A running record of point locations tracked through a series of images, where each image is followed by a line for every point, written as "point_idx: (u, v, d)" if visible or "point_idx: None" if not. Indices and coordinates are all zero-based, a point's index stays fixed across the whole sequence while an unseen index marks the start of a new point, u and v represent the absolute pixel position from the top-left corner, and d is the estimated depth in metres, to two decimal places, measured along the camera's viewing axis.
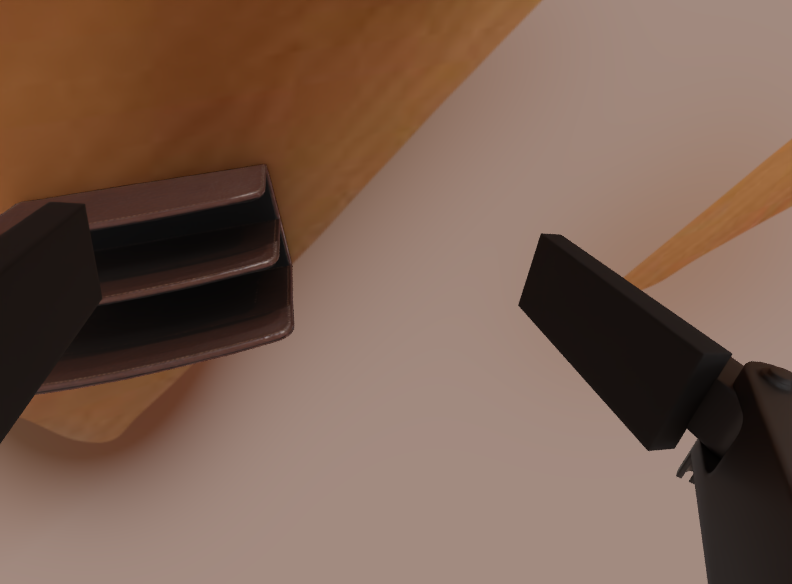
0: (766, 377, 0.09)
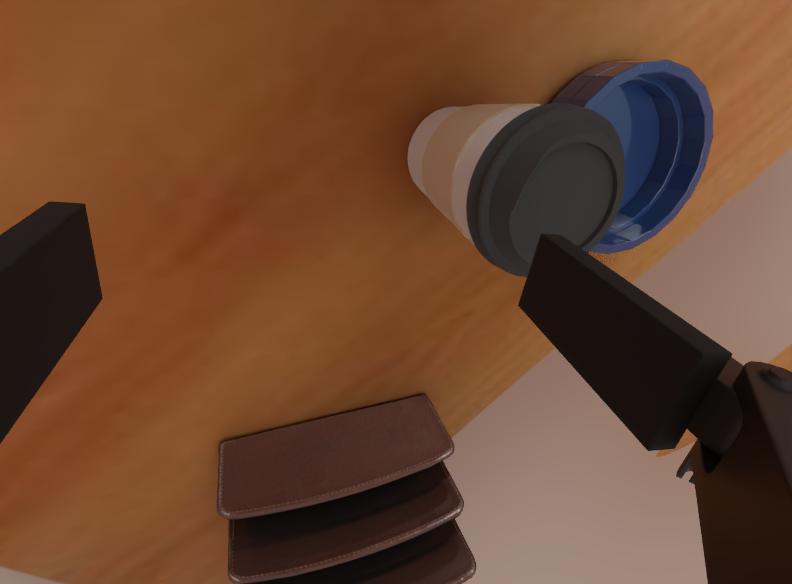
0: (766, 377, 0.09)
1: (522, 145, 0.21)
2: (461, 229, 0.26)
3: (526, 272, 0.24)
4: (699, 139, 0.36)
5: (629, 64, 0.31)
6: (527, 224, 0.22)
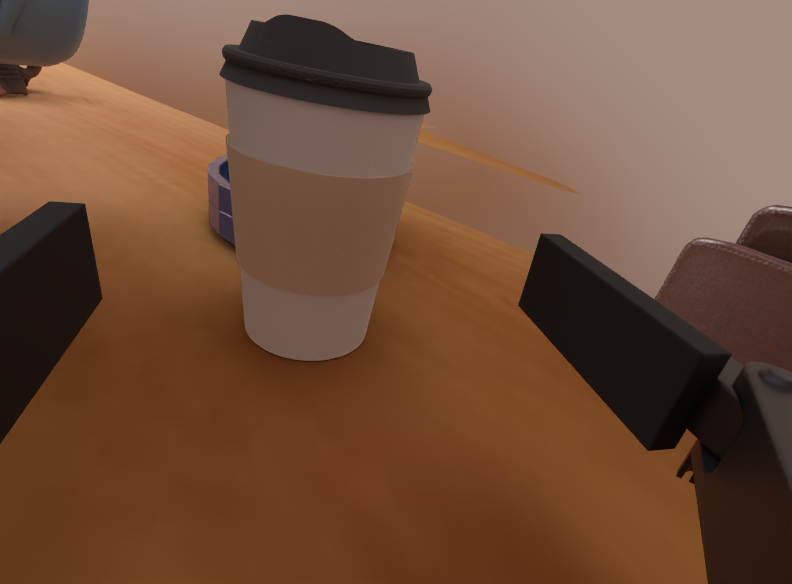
0: (767, 377, 0.09)
1: (264, 52, 0.16)
2: (391, 176, 0.19)
3: (425, 83, 0.19)
4: None
5: (209, 185, 0.32)
6: None
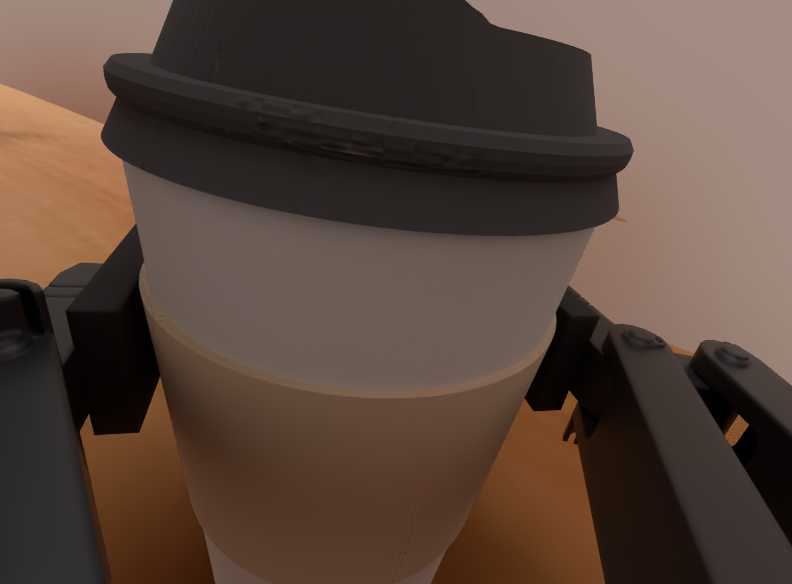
0: (629, 339, 0.09)
1: (206, 67, 0.05)
2: (537, 352, 0.08)
3: None
4: None
5: None
6: None
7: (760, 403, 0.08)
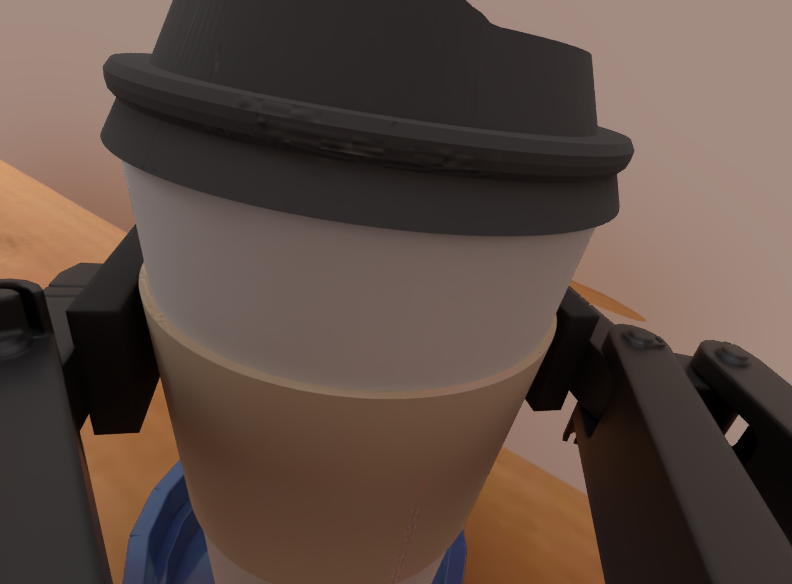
0: (628, 338, 0.09)
1: (206, 67, 0.05)
2: (537, 353, 0.08)
3: None
4: None
5: None
6: None
7: (760, 403, 0.08)
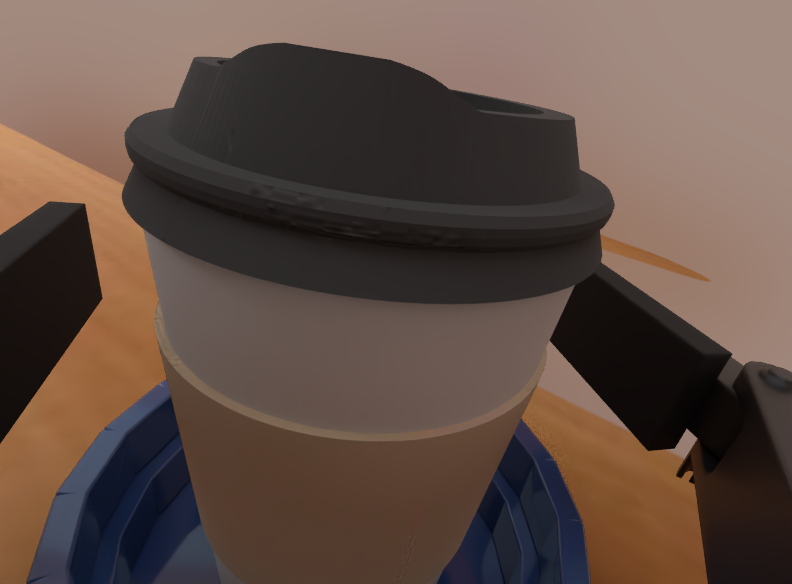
0: (766, 377, 0.09)
1: (220, 148, 0.06)
2: (526, 390, 0.08)
3: (580, 173, 0.09)
4: None
5: None
6: None
7: None
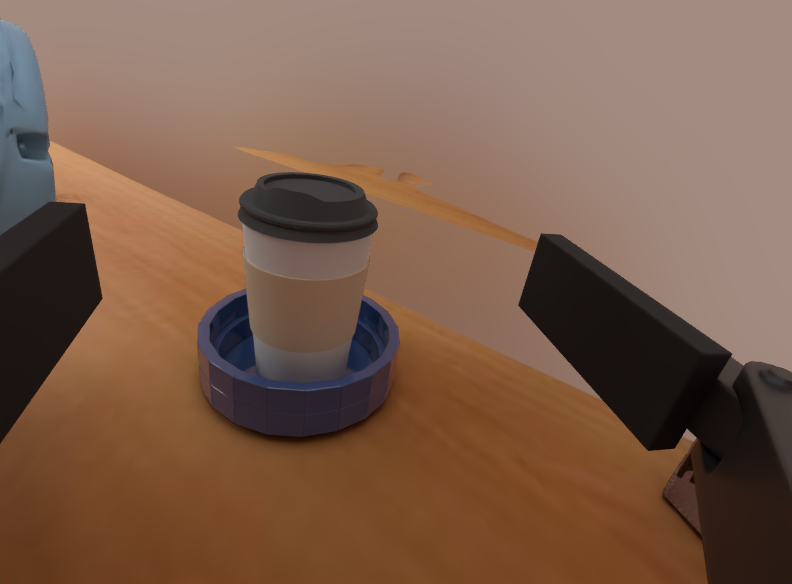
0: (766, 377, 0.09)
1: (266, 209, 0.26)
2: (351, 274, 0.28)
3: (373, 210, 0.29)
4: None
5: (199, 354, 0.30)
6: None
7: None
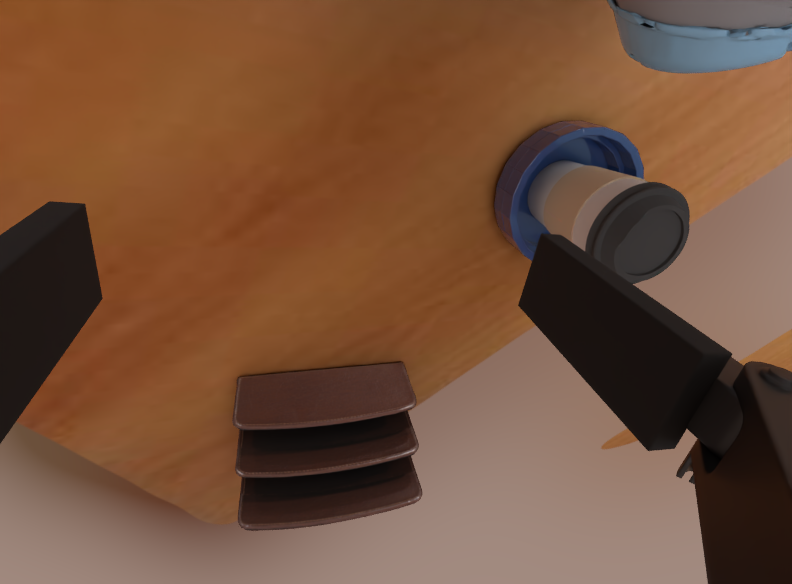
0: (767, 377, 0.09)
1: (630, 206, 0.34)
2: None
3: None
4: None
5: (575, 127, 0.41)
6: (624, 253, 0.36)
7: None
